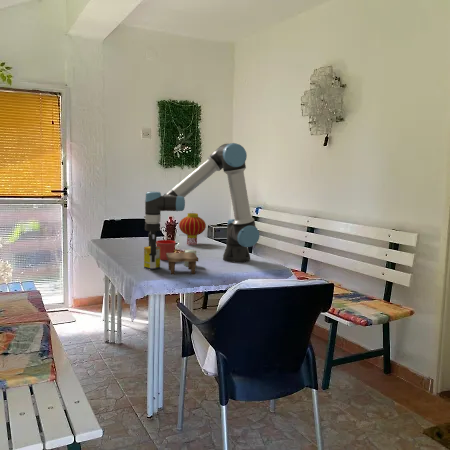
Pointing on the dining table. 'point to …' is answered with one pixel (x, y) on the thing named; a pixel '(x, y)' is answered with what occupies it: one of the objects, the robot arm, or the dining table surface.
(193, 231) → the lantern
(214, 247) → the dining table surface
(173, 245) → the flower pot
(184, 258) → the footstool
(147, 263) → the supplement box
